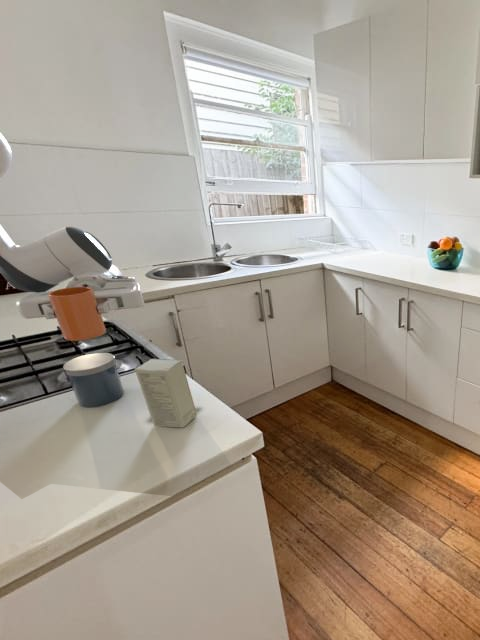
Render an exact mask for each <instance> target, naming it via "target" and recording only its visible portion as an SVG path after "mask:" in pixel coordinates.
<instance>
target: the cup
mask: <svg viewBox="0 0 480 640" xmlns="http://www.w3.org/2000/svg"><path fill="white" fill-rule="evenodd" d="M51 291H52V292H50V293H48V296H49V299H50V302H51V304H52V307H53V310H54V312H55V315H56V318H55V319H56V320H57V323H58V326H59V328H60V331H61V334H62V336H63V338H64V340H66V341H70V342H79V341H85V340H91V339H95V338H97V337H100V336H102V335H105V334H106V333H107V329H106V325H105V323H104V319H103V316H102V314H99V312H98V311H99V310H98V309H97V305H98V303H97V300H96V297H95V294H94V291H93V288H91V287H71V288H66V287H65V288H59V289H54V290H51Z"/></svg>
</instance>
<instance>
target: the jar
mask: <svg viewBox="0 0 480 640" xmlns="http://www.w3.org/2000/svg"><path fill="white" fill-rule="evenodd" d="M116 363H117V361H116V357H115V355H114V354H113V353H111V352H110V353H109V352H95V353H89V354H83V355H81V356H77V357H74V358H72V359H70V360H68V361H67V362H65V363H64V364H63V366H62V368H63V371H64V374H66V375H67V378H68V380H69V383H70V385H71V388H72V391H73V393H74V396H75V398H76V402H77V403H78V405H79V406H80V407H82V408H97V407H102V406H105V405H108V404H112V403H113V402H115V401H117V400H119V399H121V398H122V397H123V396H124V395H125V389H124V386H123V383H122V380H121V377H120V373H119V371H118V368H117V365H116Z"/></svg>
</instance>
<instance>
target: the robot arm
mask: <svg viewBox="0 0 480 640" xmlns="http://www.w3.org/2000/svg"><path fill="white" fill-rule="evenodd" d="M12 162H13V151H12V148H11V146H10V144H9V142H8V141H7V139H6V138H5V136H4V135H3V134H2V132H1V131H0V181H1V180H2V179H3V178H4V177H5V176H6V175H7V173H8V171H9V170H10V168H11V166H12ZM0 274H1V276H3V278H4V279H5V281H6V282H7V283H9V284H10V285H11V286H12V287H13V288H14V289H17V290H20V291H23V292H29V293H30V294H28V295H25V296H24V297H22V298H20V299H18V300H17V301H16V308H17V310H18V312H19V315H20V316H21V317H22V318H24V319H28V320H29V319H30V320H31V319H38V318H39V319H40V318H45V319H46V320H52V319H53V320H54V319H57V318H56V315H55V312H54V310H53V307H52V304H51V302H50V299H49V296H48V293H50V292H52V291H53V290H51V289H53V288H55V287H56V286H58V285H60V283H63V282H64V281H67V280H69V279H71V280H69V281H68V283H67V284H66V286H65V288H71V287H91V288H93V291H94V294H95V297H96V300H97V303H98V305H97V309H98V310H99V311H98V312H99V314H101V315H102V314H103V315H104V314H109V313H110V312H112V311H120V310H129V309H137V308H139V309H140V308H142V307H145V301H144V297H143V293H142V289H141V286H140V284H139V283H138V281H137V280H136V277H135V276H128V275H126V276H125V275H123V273H122V271H121V270H120V269H119V268H118V267H117V266H116V265H114V264H113V259H112V256H111V253H110V252H109V250H108V249H107V248H106V247H105V245H104V244H103V243H102V242H101V241H100V240H99V239H98V238H97V237H96V236H95V235H93V234H92V233H90V232H88V231H86V230H84V229H81V228H78V227H75V226H65V227H62V228H59V229H57V230H55V231H52V232H50V233H48V234H45V235H44V236H42V237H40V238H38V239H35V240H32V241H29V242H28V243H26V244H23V245H17V244H16V243H15V242H14V241H13V239H12V238H11V237H10V235H9V234H8V232H7V231H6V230H5V229H4V227H3V226H2V224H0Z"/></svg>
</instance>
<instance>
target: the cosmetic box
mask: <svg viewBox="0 0 480 640" xmlns="http://www.w3.org/2000/svg"><path fill="white" fill-rule="evenodd" d="M134 372H135V375H136V377H137V380H138V383H139V387H140V389H141V392H142V395H143V398H144V400H145V405H146V406H147V410H148V412H149V416H150V419H151V421H152V424H153V426H155V427H167V428H185V427H186V426H187V425H188V424H189V423H190V422H191V421H193V419H194V418H195V417H197V416H198V413H197V410H196V406H195V403H194V400H193V395H192V391H191V388H190V385H189V382H188V378H187V374H186V370H185V367H184V363H183V360H182V359H168V358H167V359H166V358H165V359H164V358H150V359H148V360H147V361H145V362H144V363H142V364H140V365H139V366H137V367H135V368H134Z"/></svg>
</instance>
